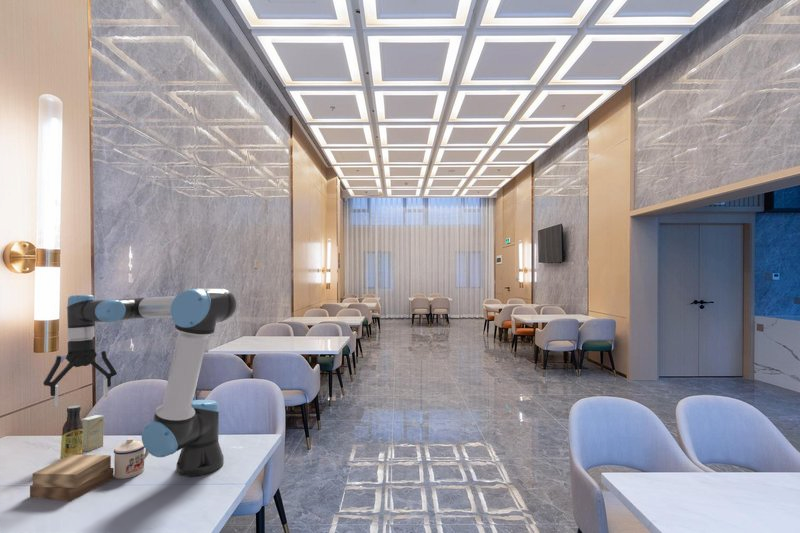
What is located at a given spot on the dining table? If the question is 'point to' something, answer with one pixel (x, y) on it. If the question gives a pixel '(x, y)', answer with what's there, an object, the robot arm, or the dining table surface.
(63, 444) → the sauce bottle
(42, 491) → the tower base block
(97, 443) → the skincare box
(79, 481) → the tower top block
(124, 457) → the teacup with lid
